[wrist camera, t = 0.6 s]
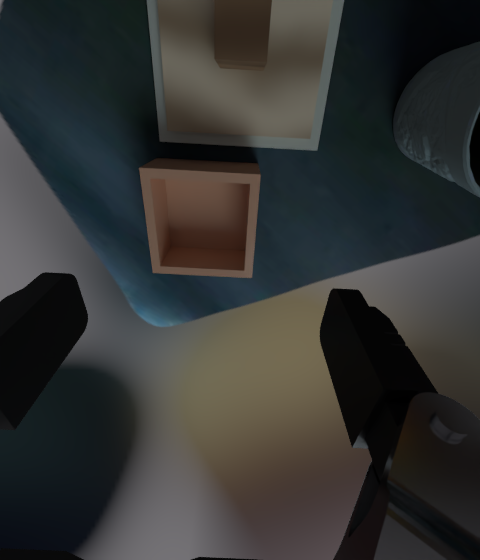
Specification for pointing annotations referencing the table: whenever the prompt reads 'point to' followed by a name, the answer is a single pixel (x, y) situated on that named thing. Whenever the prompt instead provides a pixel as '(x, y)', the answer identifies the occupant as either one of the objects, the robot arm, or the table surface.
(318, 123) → the tray
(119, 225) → the table surface
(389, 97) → the table surface
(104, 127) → the table surface
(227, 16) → the lid
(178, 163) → the open square box
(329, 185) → the table surface
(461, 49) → the grey cup
